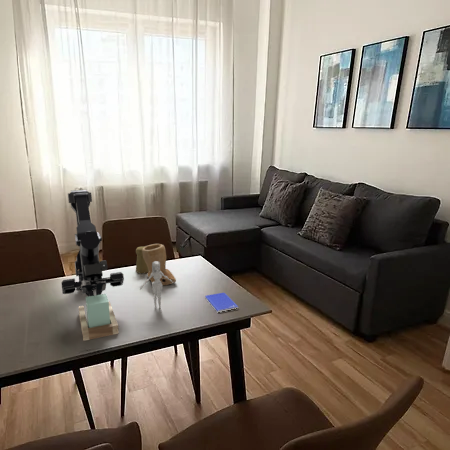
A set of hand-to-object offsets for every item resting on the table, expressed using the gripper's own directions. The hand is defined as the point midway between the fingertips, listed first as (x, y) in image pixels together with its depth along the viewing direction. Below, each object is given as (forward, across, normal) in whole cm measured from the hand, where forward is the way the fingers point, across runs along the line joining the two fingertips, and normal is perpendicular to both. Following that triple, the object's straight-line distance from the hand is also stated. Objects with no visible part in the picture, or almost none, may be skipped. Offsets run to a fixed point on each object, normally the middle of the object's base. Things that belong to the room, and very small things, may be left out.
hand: (96, 307), depth 115 cm
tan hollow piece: (-16, +27, +25) cm, 40 cm away
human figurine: (+2, +20, +7) cm, 22 cm away
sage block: (+6, 0, +1) cm, 6 cm away
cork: (-24, +24, +34) cm, 48 cm away
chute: (+5, 0, +5) cm, 7 cm away
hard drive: (+6, +43, +5) cm, 44 cm away
